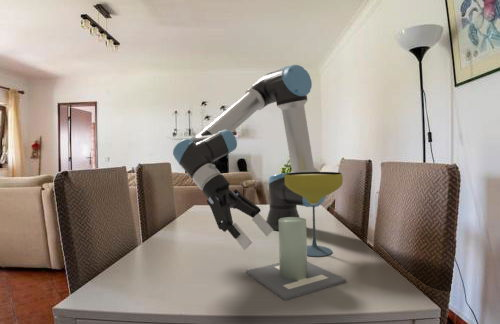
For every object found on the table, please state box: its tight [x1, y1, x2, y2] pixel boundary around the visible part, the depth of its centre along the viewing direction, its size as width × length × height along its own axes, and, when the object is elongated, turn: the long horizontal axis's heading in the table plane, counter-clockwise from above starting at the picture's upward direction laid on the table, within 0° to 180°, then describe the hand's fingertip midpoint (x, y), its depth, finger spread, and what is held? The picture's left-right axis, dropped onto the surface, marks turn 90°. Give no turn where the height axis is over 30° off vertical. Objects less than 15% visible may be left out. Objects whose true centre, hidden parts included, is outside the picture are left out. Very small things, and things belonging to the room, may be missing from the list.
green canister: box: [278, 216, 308, 280], centre depth 78 cm, size 7×7×14 cm
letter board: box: [245, 261, 347, 301], centre depth 78 cm, size 18×18×1 cm
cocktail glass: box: [285, 171, 344, 258], centre depth 97 cm, size 18×18×25 cm
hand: (260, 239), depth 82 cm, fingers open, 13 cm apart
